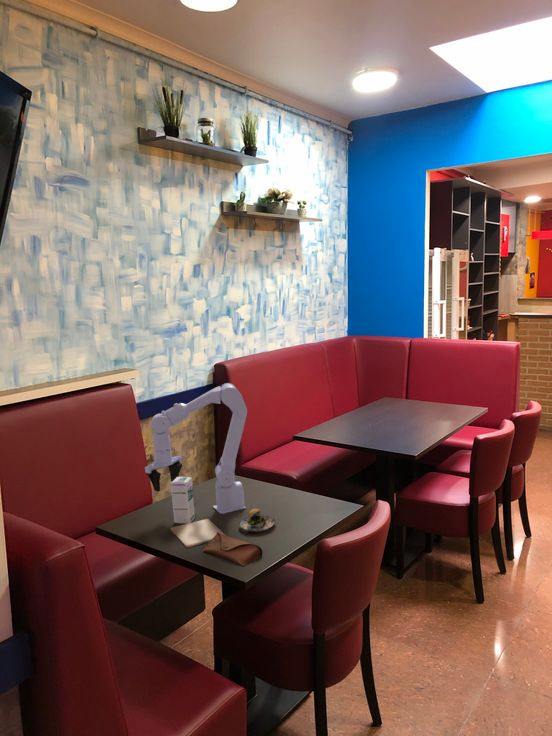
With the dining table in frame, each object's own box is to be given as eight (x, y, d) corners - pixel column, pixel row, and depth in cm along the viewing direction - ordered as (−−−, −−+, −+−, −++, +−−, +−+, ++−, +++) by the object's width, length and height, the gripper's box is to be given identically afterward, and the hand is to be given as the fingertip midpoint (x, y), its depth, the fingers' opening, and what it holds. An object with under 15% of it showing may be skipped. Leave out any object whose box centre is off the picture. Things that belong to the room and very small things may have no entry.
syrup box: (190, 524, 194) (187, 482, 192) (173, 523, 195) (170, 481, 193) (196, 517, 200) (192, 476, 197) (179, 516, 201) (176, 476, 199)
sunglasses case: (198, 551, 174) (205, 528, 176) (213, 554, 179) (220, 532, 181) (244, 567, 163) (251, 542, 165) (258, 570, 168) (265, 546, 170)
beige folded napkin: (207, 520, 197) (207, 518, 196) (226, 537, 182) (226, 535, 182) (170, 529, 191) (170, 527, 190) (187, 547, 177) (186, 546, 176)
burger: (245, 538, 182) (244, 515, 180) (234, 524, 192) (232, 503, 191) (281, 530, 186) (280, 508, 185) (268, 517, 197) (266, 496, 196)
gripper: (171, 442, 207) (174, 479, 209) (137, 453, 196) (141, 491, 198) (184, 445, 202) (187, 482, 204) (151, 456, 191) (154, 495, 193)
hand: (165, 487), depth 201 cm, fingers open, 7 cm apart
